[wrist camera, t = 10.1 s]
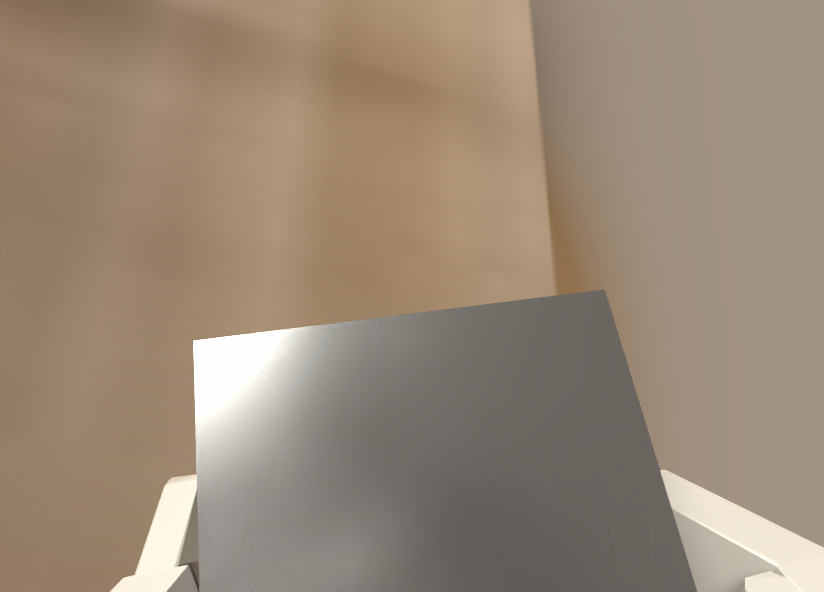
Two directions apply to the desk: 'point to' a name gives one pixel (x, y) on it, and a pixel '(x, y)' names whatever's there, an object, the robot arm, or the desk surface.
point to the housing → (432, 457)
